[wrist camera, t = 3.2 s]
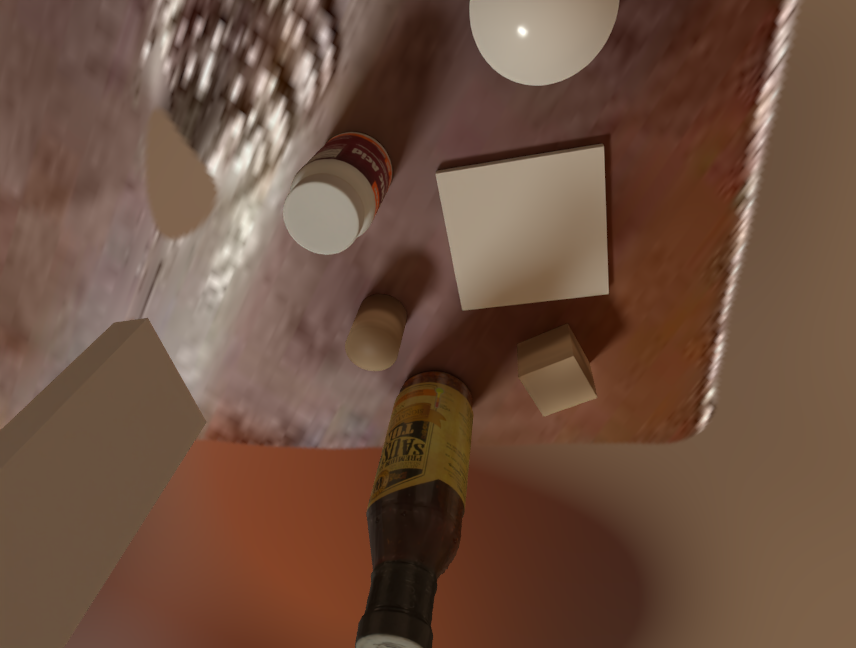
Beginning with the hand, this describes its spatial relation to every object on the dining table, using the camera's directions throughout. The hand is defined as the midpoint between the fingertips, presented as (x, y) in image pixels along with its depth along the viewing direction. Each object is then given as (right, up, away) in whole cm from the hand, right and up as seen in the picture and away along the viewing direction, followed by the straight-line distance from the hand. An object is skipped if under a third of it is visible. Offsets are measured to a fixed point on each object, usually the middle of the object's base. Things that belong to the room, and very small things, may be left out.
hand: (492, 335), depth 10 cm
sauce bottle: (-1, -6, +35) cm, 36 cm away
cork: (-4, +1, +31) cm, 32 cm away
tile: (+5, +6, +26) cm, 28 cm away
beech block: (+8, -2, +32) cm, 33 cm away
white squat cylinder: (+5, +17, +19) cm, 26 cm away
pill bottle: (-6, +10, +25) cm, 28 cm away
